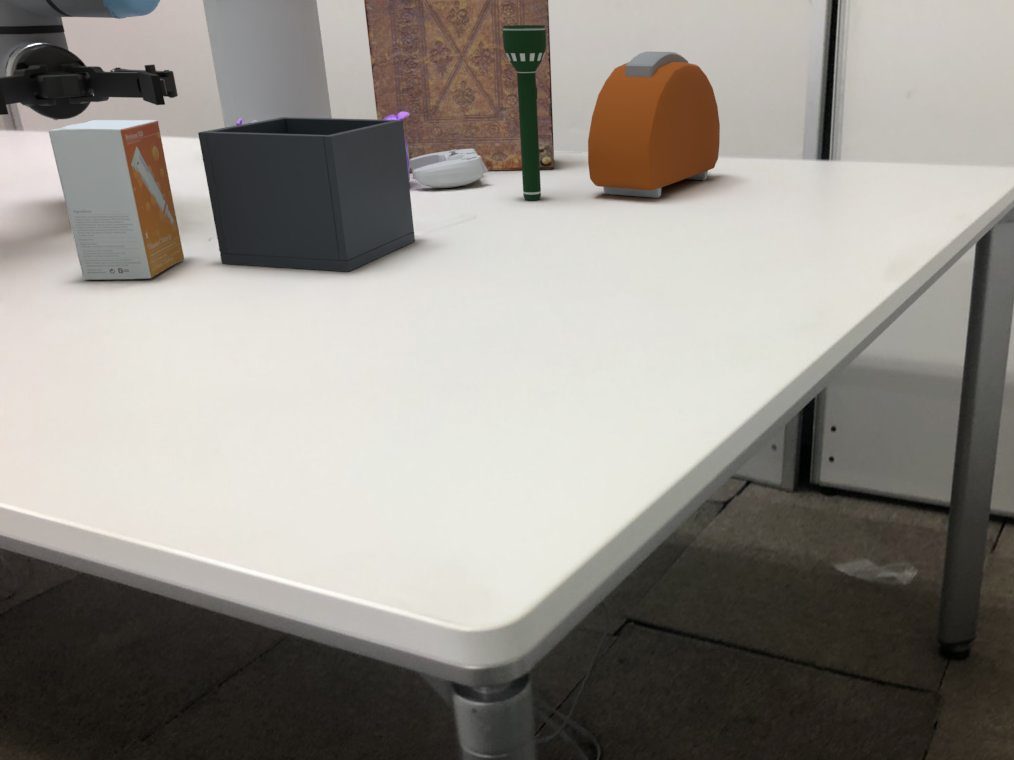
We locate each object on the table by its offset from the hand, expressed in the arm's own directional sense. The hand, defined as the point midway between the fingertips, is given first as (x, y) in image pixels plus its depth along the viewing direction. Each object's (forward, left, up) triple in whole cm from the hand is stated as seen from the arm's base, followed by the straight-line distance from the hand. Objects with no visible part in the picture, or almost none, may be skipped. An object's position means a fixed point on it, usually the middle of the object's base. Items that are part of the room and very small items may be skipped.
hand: (81, 94), depth 96 cm
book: (+11, +62, -15) cm, 65 cm away
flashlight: (+30, +38, -15) cm, 51 cm away
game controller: (+14, +48, -15) cm, 52 cm away
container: (-23, +65, -15) cm, 70 cm away
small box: (+7, -6, -15) cm, 18 cm away
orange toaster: (+43, +51, -15) cm, 68 cm away
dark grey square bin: (+20, +5, -15) cm, 26 cm away
